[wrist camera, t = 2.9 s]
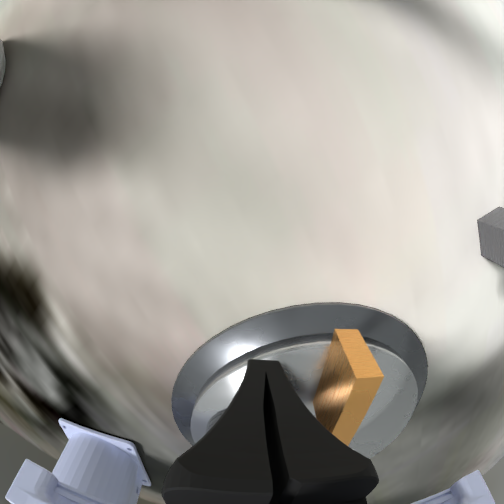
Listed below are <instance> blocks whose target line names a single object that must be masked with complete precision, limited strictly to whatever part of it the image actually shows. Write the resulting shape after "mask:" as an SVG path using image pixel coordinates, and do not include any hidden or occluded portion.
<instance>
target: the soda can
mask: <svg viewBox="0 0 504 504" xmlns="http://www.w3.org/2000/svg"><path fill="white" fill-rule="evenodd" d="M5 66H6V58H5V53H4V47H3V41H2V40H1V39H0V87H1V85H2V81H3V77H4V73H5Z"/></svg>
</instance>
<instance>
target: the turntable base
mask: <svg viewBox="0 0 504 504" xmlns="http://www.w3.org/2000/svg"><path fill="white" fill-rule="evenodd" d="M334 329H358V330H359V332H360V334H361V336H364V337H368V338H371V339H374V340H377V341H380V342H382V343H384V344H386V345H387V346H389V347H391V348H392V349H393V350H395V351H396V352H397V353H398V354H399V355H400V356H401V357H402V358H403V360H404V361H405V362H406V364H407V365H408V367H409V368H410V370H411V371H412V373H413V375H414V377H415V380H416V383H417V388H418V398H417V403H416V406H417V404H418V402H419V400H420V398H421V396H422V393H423V391H424V388H425V384H426V379H427V359H426V354H425V351H424V349H423V346H422V344H421V342H420V341H419V339H418V338H417V336H416V335H415V334H414V332H413V331H412V330H411V329H410V328H409V327H408V326H407V325H405V324H404V323H403V322H402V321H400V320H399V319H397V318H395V317H394V316H392V315H390V314H388V313H385V312H383V311H381V310H378V309H375V308H371V307H367V306H363V305H358V304H348V303H339V302H337V303H311V304H303V305H294V306H290V307H285V308H281V309H276V310H272V311H269V312H266V313H263V314H260V315H257V316H254V317H251V318H248V319H246V320H244V321H242V322H239V323H237V324H235V325H233V326H230V327H229V328H227V329H225V330H224V331H222V332H220V333H219V334H217V335H215V336H214V337H212V338H211V339H210V340H208V341H207V342H206V343H205V344H203V345H202V346H201V347H199V348H198V349H197V350H196V351H195V352H194V354H193V355H192V356H191V357H190V358H189V359H188V360H187V361H186V363H185V364H184V366H183V368H182V369H181V371H180V372H179V374H178V377H177V379H176V382H175V384H174V388H173V393H172V411H173V415H174V419H175V422H176V424H177V426H178V428H179V430H180V431H181V433H182V434H183V435H184V437H185V438H186V439H187V440H188V441H189V442H190V443H191V444H192V446H194V445H195V442H194V440H193V438H192V434H191V430H190V429H191V417H192V412H193V408H194V404H195V400H196V397H197V395H198V393H199V391H200V389H201V388H202V387H203V385H204V384H205V383H206V381H207V380H208V379H209V378H210V377H211V376H212V375H213V374H214V373H215V372H216V371H217V370H219V369H220V368H221V367H223V366H224V365H226V364H227V363H228V362H230V361H232V360H233V359H235V358H237V357H239V356H241V355H242V354H244V353H246V352H249V351H251V350H254V349H256V348H258V347H261V346H264V345H267V344H270V343H273V342H276V341H279V340H284V339H288V338H293V337H297V336H304V335H312V334H326V333H334ZM415 408H416V407H415Z"/></svg>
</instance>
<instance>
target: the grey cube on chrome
mask: <svg viewBox="0 0 504 504" xmlns="http://www.w3.org/2000/svg"><path fill="white" fill-rule="evenodd" d="M477 221H478V229H479V237H480V246H481V255H482V256H483V257H485V258H487V259H489V260H491V261H493V262H495V263H497V264H498V265H500V266H502V267H504V208H502V207H498V208H496V209H495V210H493V211H491V212H490V213H488V214H487V215H485V216H483V217H482V218H480V219H479V220H477Z"/></svg>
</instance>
